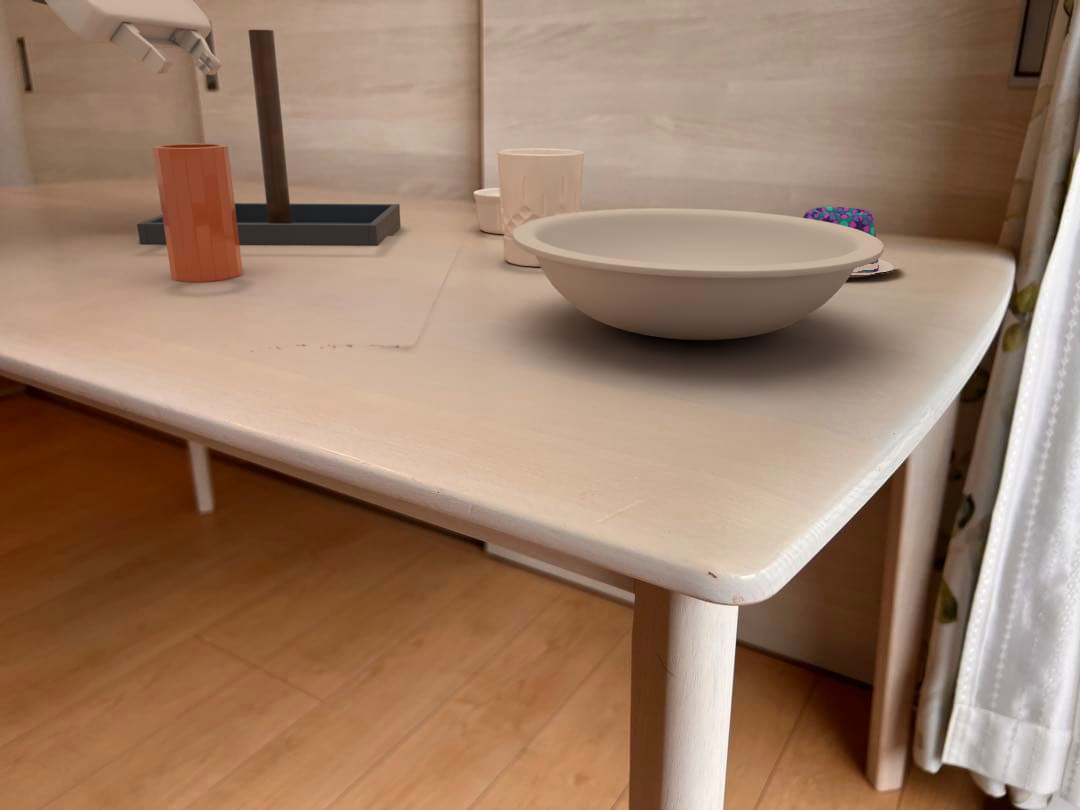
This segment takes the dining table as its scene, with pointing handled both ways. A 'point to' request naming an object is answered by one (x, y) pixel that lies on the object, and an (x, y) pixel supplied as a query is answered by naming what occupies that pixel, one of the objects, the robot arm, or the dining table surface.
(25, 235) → the dining table surface
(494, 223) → the ramekin
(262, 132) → the stick
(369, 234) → the tray
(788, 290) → the soup bowl
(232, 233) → the crock
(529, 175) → the white cup
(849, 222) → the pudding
